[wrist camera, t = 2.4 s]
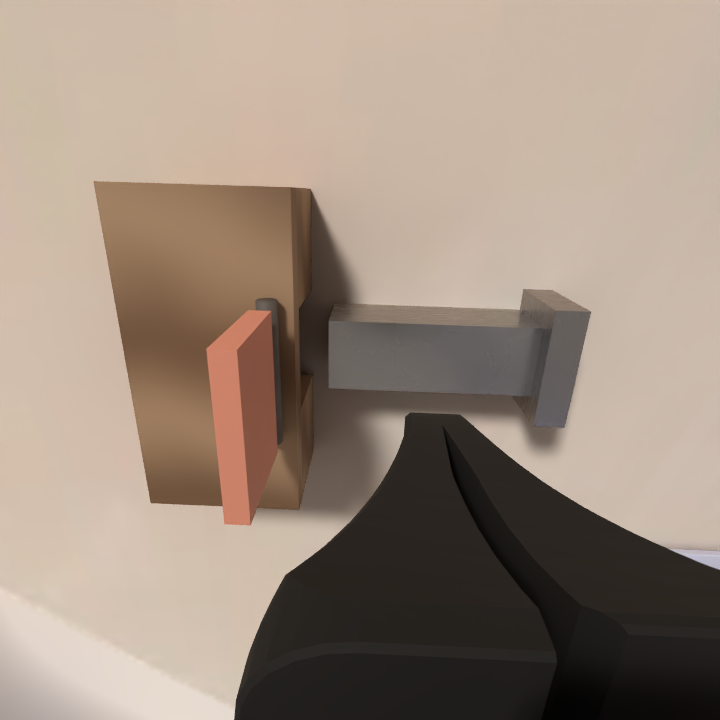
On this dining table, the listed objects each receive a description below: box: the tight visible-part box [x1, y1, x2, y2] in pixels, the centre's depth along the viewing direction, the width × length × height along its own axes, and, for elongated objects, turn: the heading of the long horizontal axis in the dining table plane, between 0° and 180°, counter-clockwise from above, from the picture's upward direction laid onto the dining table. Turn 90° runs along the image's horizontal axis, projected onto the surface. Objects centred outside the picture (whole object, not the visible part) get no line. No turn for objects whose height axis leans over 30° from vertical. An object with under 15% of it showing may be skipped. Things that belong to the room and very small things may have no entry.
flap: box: [206, 310, 278, 525], centre depth 12 cm, size 5×1×4 cm, turn 178°
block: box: [94, 181, 313, 510], centre depth 17 cm, size 12×6×5 cm, turn 178°
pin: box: [329, 289, 591, 428], centre depth 18 cm, size 5×9×4 cm, turn 88°
